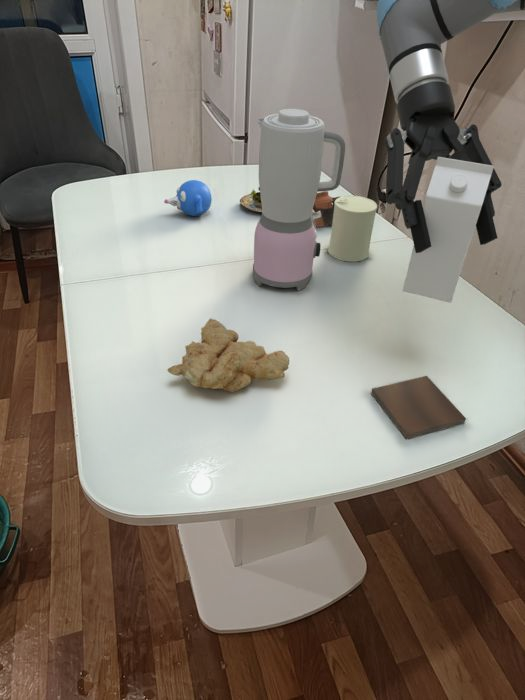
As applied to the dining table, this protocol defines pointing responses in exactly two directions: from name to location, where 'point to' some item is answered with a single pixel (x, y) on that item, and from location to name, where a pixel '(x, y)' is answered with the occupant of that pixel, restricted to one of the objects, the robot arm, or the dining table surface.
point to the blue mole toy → (192, 198)
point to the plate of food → (252, 201)
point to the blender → (291, 195)
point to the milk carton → (448, 227)
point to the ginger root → (227, 360)
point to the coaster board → (417, 406)
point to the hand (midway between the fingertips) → (456, 245)
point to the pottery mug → (324, 209)
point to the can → (352, 228)
